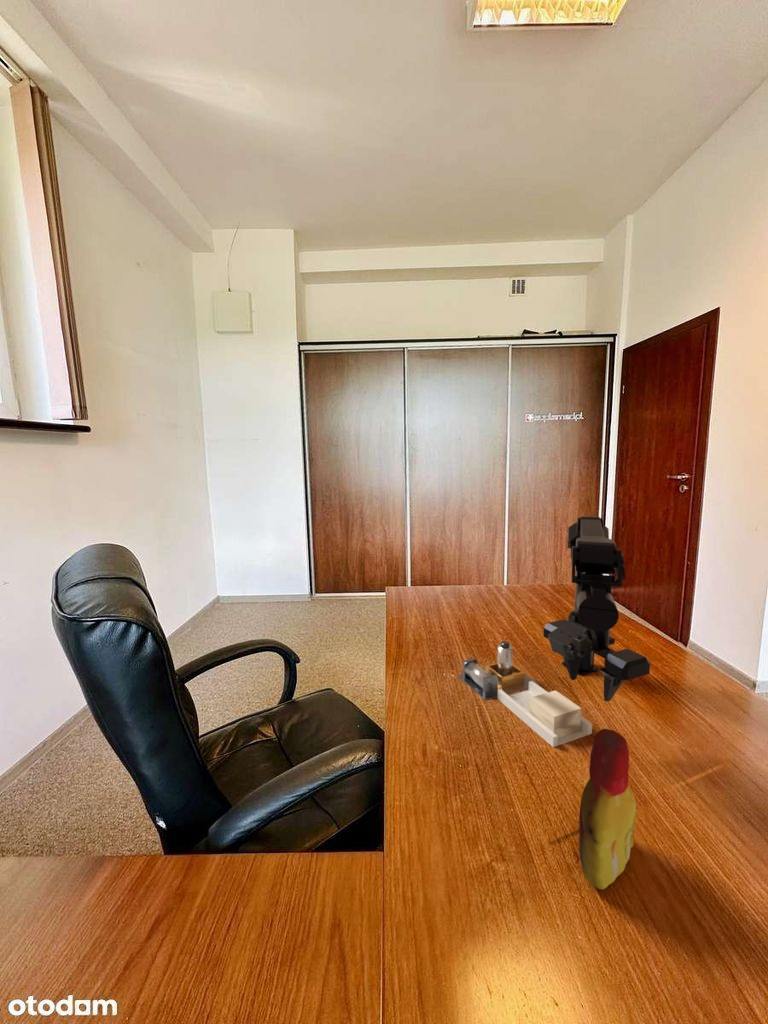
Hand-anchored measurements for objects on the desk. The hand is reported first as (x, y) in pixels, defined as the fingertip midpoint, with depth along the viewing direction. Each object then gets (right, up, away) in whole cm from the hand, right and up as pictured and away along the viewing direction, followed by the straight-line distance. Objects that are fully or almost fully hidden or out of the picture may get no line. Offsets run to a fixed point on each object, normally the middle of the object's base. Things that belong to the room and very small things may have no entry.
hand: (589, 689), depth 76 cm
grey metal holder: (-9, -10, +27) cm, 30 cm away
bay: (-4, -12, +13) cm, 18 cm away
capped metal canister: (-8, -9, +28) cm, 30 cm away
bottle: (-8, -16, -19) cm, 26 cm away
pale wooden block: (-3, -12, +10) cm, 15 cm away
